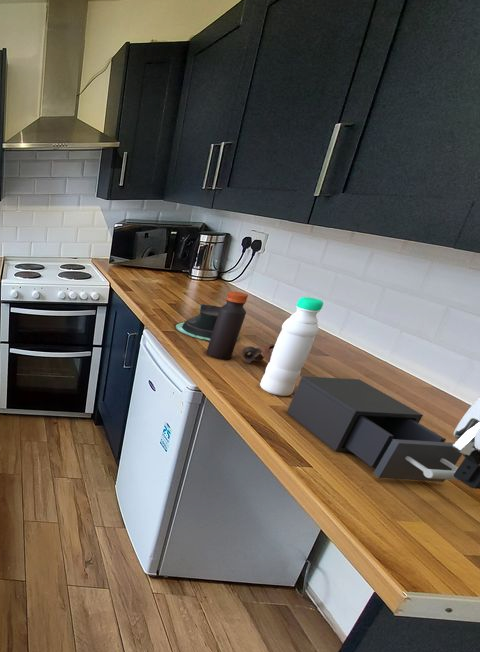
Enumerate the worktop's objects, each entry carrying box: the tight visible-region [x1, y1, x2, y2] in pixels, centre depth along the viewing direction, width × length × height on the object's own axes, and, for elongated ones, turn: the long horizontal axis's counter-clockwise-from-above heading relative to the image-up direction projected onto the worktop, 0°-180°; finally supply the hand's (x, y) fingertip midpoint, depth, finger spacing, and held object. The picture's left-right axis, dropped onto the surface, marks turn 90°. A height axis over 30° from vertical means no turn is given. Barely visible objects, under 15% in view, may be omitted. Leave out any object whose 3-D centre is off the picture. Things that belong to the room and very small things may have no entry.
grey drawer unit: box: [286, 375, 424, 453], centre depth 87 cm, size 15×13×10 cm
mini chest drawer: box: [343, 415, 463, 483], centre depth 76 cm, size 19×12×8 cm, turn 177°
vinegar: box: [206, 291, 249, 361], centre depth 121 cm, size 7×7×20 cm
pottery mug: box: [241, 343, 276, 365], centre depth 117 cm, size 12×10×8 cm
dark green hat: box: [175, 303, 240, 341], centre depth 143 cm, size 15×19×20 cm
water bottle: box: [259, 296, 324, 397], centre depth 100 cm, size 7×7×25 cm
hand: (468, 482), depth 65 cm, fingers closed
